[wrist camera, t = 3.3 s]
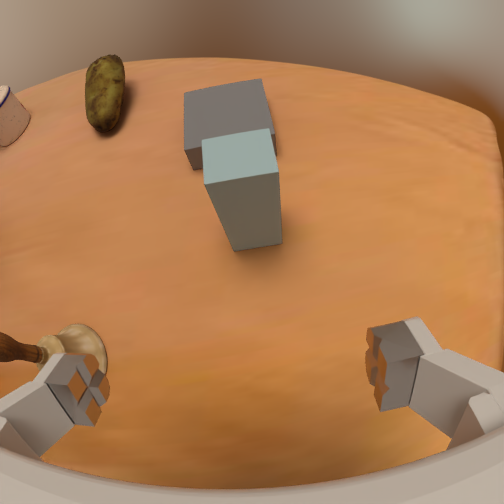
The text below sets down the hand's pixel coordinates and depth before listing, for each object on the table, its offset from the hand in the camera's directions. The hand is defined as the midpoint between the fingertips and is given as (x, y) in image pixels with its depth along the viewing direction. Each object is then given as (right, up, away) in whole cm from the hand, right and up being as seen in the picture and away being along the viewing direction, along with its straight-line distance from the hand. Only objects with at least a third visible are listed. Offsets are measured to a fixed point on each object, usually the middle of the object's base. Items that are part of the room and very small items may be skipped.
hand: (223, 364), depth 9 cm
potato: (-21, +26, +35) cm, 48 cm away
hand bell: (-19, -9, +22) cm, 30 cm away
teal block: (+1, +5, +25) cm, 26 cm away
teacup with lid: (-48, +27, +39) cm, 67 cm away
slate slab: (-2, +18, +30) cm, 35 cm away
